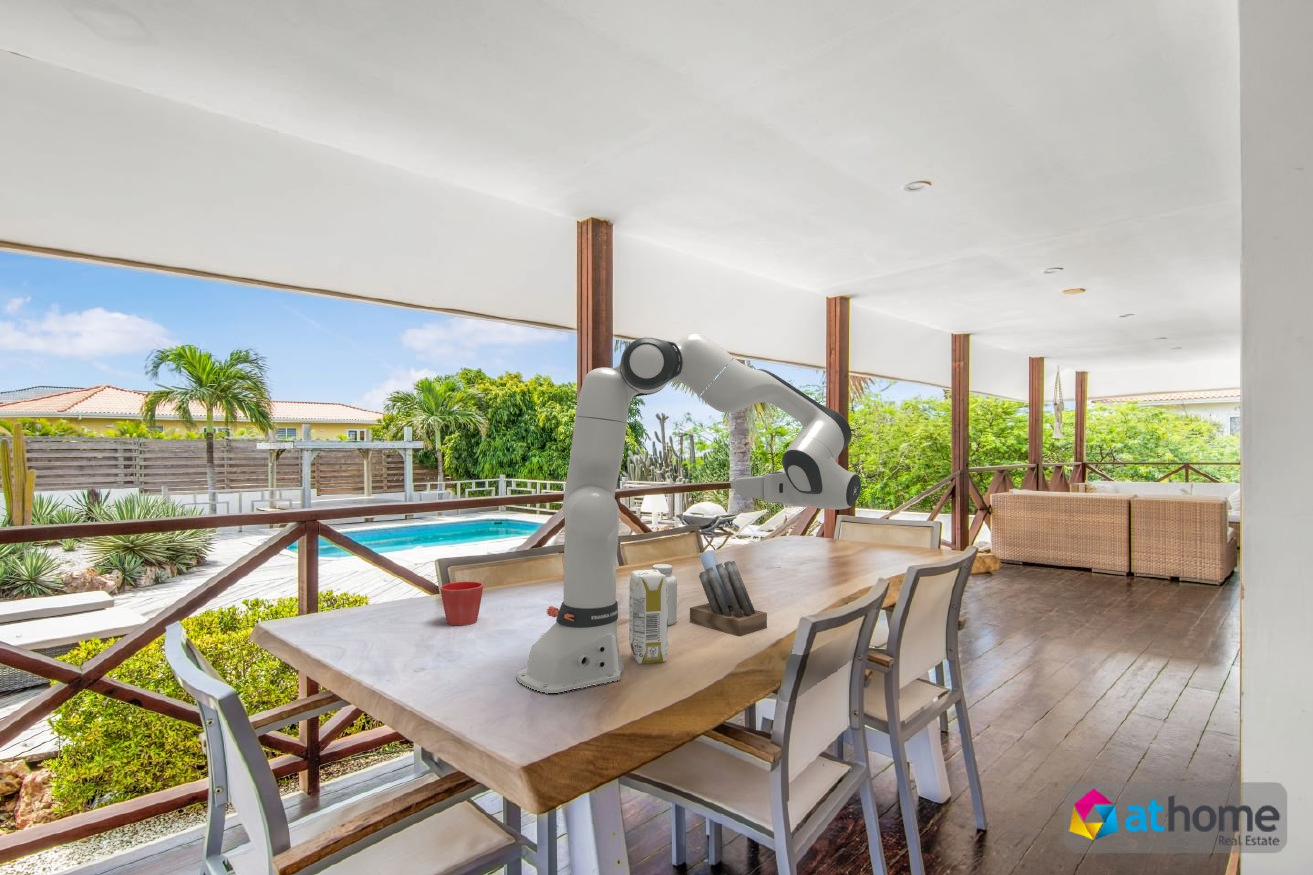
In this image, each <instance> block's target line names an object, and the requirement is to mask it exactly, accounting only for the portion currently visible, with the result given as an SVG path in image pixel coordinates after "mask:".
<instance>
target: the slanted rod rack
mask: <svg viewBox="0 0 1313 875" xmlns="http://www.w3.org/2000/svg"><path fill="white" fill-rule="evenodd" d="M716 569H717V571H718V574H719V576H720V579H721V581H722V584H723V586H724V589H725V591H726V594H727V597H728V599H729V602H730V604H731V606H730V607H728V606H727V603H726V600H725V598H724V595H723V593H722V590H721V588H720V585H719V583H718V580H717V577H716V575H715V572H714V570H713V567H711V568H708V569H706V571H707V572H706V571H705V570H704V571H701V572H700V573H699V575H698V578H699V581H700V583H701V586H702V588H703V591H704V594H705V596H706V599H707V601H708V603H704V604H700V605H696V606H691V607H689V623H691V624H696V625H699V626H702V627H706V628H709V629H713V630H717V631H719V632H724V633H726V634H727V633H728V634H730V635H733V636H738V637H740V636H744V635H747V634H751V633H754V632H758V631H760V630H763V629H767V628H768V613H767V612H765V611H761V610H756V609H755V608H754V605H753V602H752V600H751V598H750V595H749V593H748V591H747V588H746V585H745V583H744V581H743V578H742V576H741V573H740V571H739V568H738V566H737V564H736V561H735V560H727V561H726V562H724V563H721V562H720V563H718V565H716ZM707 573H708V575H707ZM708 576H709V577H708ZM709 579H710V580H709ZM710 581H711V583H710ZM711 584H712V585H711ZM712 586H713V588H712ZM713 589H714V590H713ZM714 592H715V593H714ZM715 594H716V595H715ZM716 597H717V598H716ZM717 599H718V601H717ZM718 602H719V603H718ZM719 604H720V606H719ZM720 607H721V608H720Z"/></svg>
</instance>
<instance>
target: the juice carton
mask: <svg viewBox="0 0 1313 875" xmlns="http://www.w3.org/2000/svg"><path fill="white" fill-rule="evenodd" d="M628 587H629V590H628V591H629V596H628V597H629V603H628V604H629V605H628V606H629V608H628V610H629V613H628V614H629V615H628V616H629V619H628V621H629V622H628V623H629V628H628V629H629V632H628V633H629V634H628V635H629V637H628V638H629V639H628V640H629V642H628V643H629V647H630V648H629V649H630V653H631V655H632V657H633V658H634V659H635V660H636V662H637V664H639V665H642V664H654V663H655V664H656V663H663V662H666V659H667V654H668V646H669V645H668V638H669V634H668V632H669V631H668V630H669V625H668V585H667V580H666V575H664V574H661V573H660V572H659V571H658V570H652V569H641V570H638V569H637V570H631V574H630V578H629V586H628Z"/></svg>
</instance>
